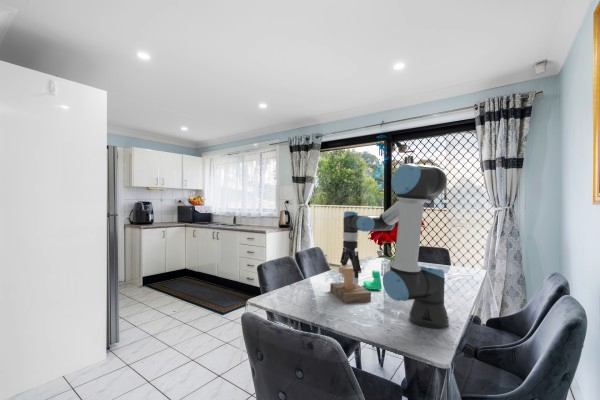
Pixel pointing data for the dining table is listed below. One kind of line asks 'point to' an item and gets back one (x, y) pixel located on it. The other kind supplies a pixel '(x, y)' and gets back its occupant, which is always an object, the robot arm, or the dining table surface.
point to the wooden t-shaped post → (348, 277)
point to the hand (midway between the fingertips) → (349, 280)
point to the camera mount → (374, 281)
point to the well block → (350, 293)
